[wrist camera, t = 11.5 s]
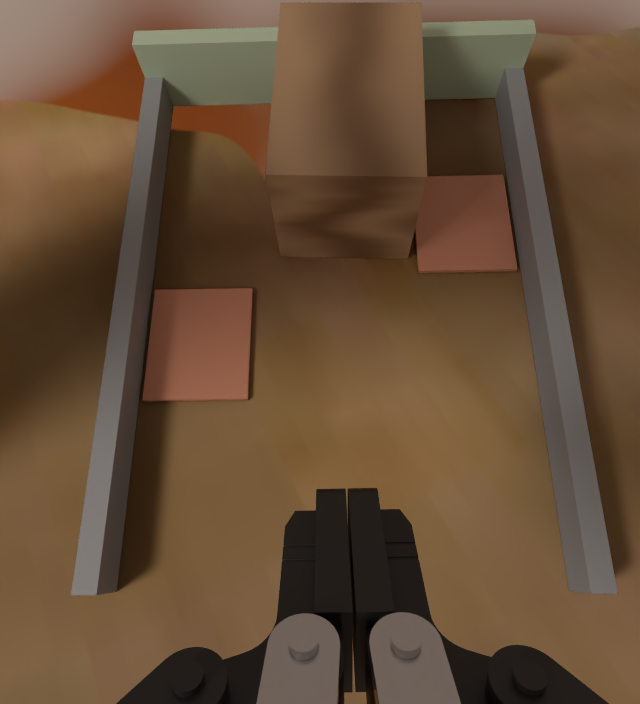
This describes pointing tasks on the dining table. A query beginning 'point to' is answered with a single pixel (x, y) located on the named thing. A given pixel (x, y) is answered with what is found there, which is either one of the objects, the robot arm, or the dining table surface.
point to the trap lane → (236, 303)
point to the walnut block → (347, 130)
